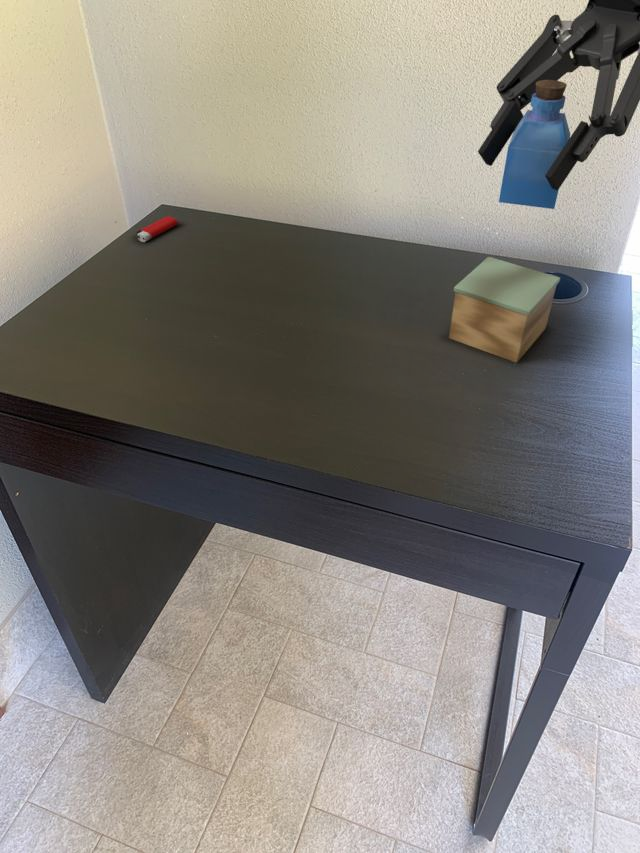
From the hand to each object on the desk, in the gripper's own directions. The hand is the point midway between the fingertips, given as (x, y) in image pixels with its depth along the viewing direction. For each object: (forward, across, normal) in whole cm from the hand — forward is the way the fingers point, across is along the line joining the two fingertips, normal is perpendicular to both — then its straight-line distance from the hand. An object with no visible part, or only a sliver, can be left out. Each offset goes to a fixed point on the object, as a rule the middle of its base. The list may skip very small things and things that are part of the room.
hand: (516, 170), depth 76 cm
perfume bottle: (0, 0, -5) cm, 5 cm away
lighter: (+29, +60, -6) cm, 67 cm away
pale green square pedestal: (+14, +2, -21) cm, 25 cm away
